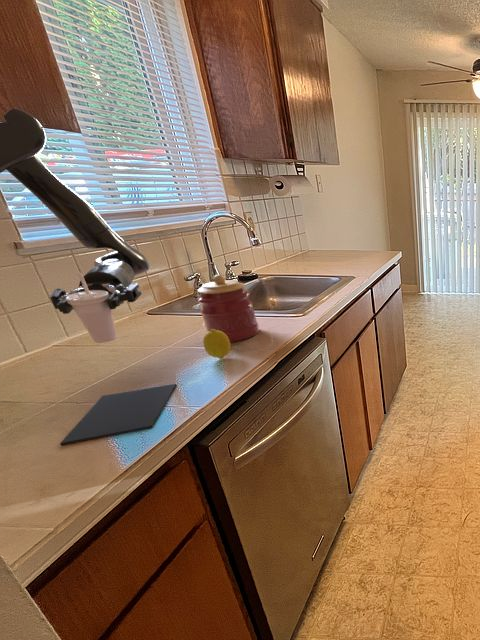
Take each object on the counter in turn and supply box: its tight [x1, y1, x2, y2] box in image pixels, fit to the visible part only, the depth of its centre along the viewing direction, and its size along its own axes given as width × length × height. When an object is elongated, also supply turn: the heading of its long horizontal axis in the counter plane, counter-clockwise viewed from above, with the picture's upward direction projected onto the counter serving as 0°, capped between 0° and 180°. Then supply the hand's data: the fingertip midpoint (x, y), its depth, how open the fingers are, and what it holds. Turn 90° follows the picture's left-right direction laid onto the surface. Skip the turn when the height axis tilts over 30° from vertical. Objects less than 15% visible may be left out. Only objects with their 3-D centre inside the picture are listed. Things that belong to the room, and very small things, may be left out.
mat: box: [59, 383, 177, 446], centre depth 78 cm, size 13×18×1 cm
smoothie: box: [66, 271, 118, 344], centre depth 80 cm, size 6×6×14 cm
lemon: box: [202, 329, 232, 360], centre depth 99 cm, size 6×6×8 cm
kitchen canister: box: [196, 274, 260, 343], centre depth 113 cm, size 13×13×18 cm
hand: (87, 306), depth 78 cm, fingers closed on smoothie, 6 cm apart
